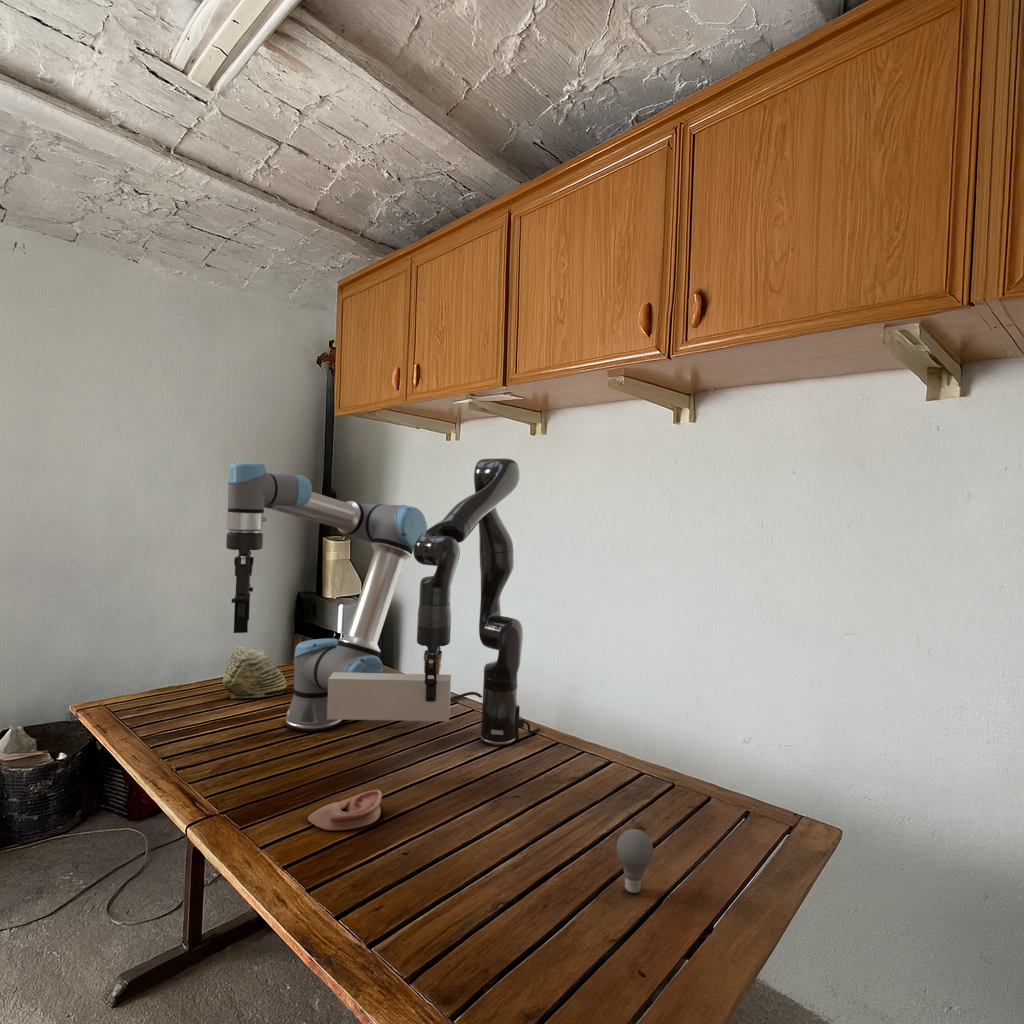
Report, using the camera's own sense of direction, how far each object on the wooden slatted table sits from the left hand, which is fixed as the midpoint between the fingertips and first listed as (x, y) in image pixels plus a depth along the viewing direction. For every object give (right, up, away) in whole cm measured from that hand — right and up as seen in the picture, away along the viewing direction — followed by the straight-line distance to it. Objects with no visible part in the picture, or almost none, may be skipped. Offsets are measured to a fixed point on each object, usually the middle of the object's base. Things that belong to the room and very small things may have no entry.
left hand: (241, 626), depth 142 cm
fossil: (-20, -32, +56) cm, 67 cm away
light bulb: (+81, -38, -36) cm, 96 cm away
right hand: (+42, -16, +2) cm, 45 cm away
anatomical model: (+27, -35, -16) cm, 47 cm away
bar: (+33, -21, +2) cm, 39 cm away
